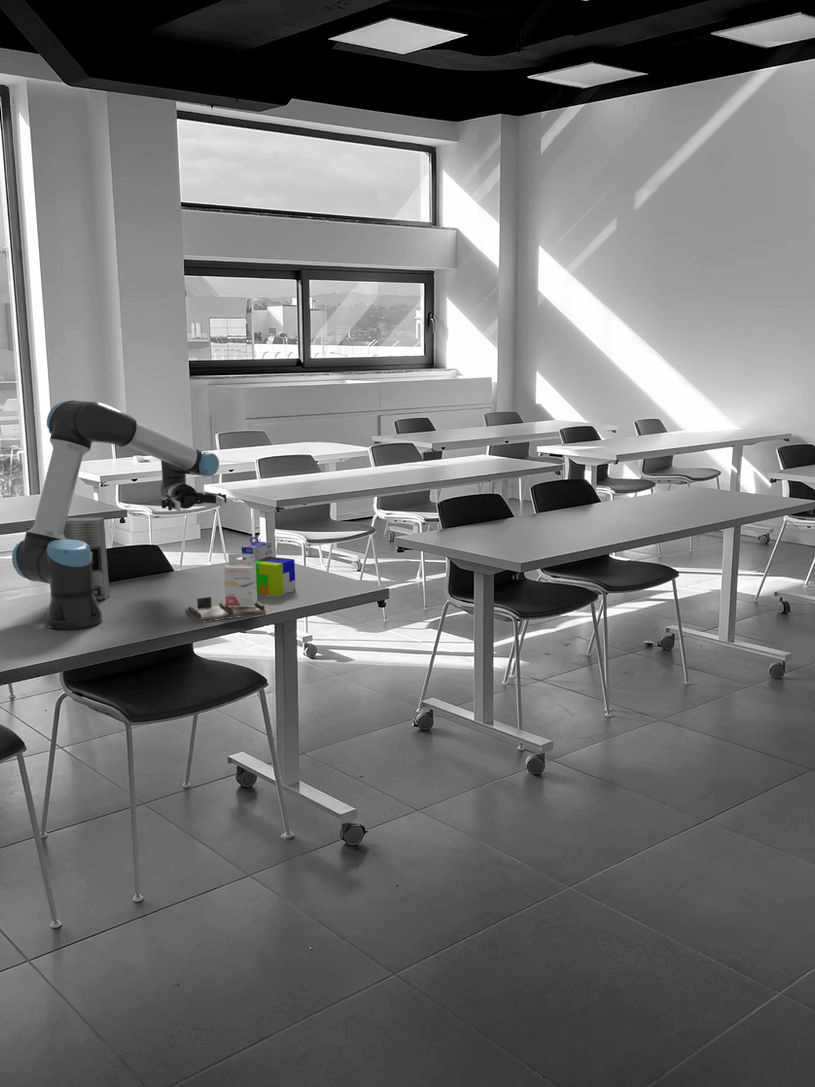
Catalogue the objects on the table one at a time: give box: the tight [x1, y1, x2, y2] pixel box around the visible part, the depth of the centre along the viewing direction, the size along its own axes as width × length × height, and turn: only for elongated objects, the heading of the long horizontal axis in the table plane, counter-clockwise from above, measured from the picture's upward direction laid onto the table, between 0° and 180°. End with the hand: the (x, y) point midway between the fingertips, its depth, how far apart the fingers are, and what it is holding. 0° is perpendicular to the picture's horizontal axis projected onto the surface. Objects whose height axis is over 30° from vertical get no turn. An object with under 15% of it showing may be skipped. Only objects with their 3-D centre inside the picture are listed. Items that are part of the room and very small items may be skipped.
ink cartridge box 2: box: [241, 536, 273, 561], centre depth 348 cm, size 10×6×14 cm, turn 148°
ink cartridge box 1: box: [223, 553, 258, 606], centre depth 310 cm, size 9×5×15 cm, turn 84°
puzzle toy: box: [255, 556, 297, 597], centre depth 334 cm, size 10×10×10 cm
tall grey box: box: [64, 517, 111, 600], centre depth 327 cm, size 14×6×25 cm, turn 90°
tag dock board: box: [184, 596, 267, 623], centre depth 310 cm, size 20×14×4 cm
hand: (201, 504), depth 318 cm, fingers open, 13 cm apart
